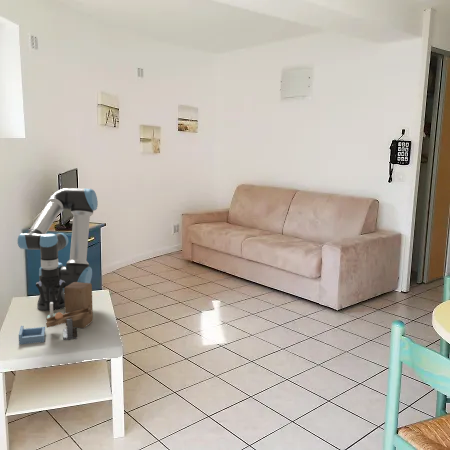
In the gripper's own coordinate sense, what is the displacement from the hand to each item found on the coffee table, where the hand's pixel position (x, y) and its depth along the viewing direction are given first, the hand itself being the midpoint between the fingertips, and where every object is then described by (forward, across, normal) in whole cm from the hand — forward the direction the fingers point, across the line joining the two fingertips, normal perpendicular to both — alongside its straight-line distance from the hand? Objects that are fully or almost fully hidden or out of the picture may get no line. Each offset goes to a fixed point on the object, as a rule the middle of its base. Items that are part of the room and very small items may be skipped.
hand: (51, 316), depth 223 cm
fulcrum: (+7, +8, -6) cm, 13 cm away
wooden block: (+8, +12, +5) cm, 15 cm away
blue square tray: (+7, -8, -6) cm, 13 cm away
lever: (0, +8, -3) cm, 9 cm away
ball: (-2, +3, -6) cm, 8 cm away
